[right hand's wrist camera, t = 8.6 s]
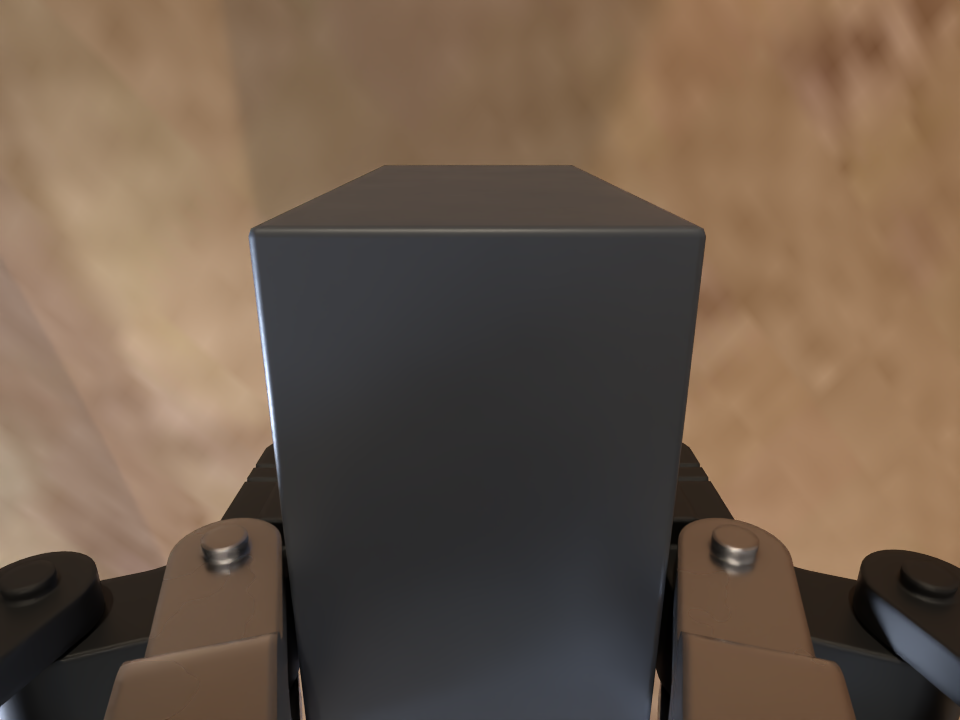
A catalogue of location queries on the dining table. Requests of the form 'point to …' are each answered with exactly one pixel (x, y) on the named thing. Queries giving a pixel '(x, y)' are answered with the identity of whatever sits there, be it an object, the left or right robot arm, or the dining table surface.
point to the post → (477, 438)
